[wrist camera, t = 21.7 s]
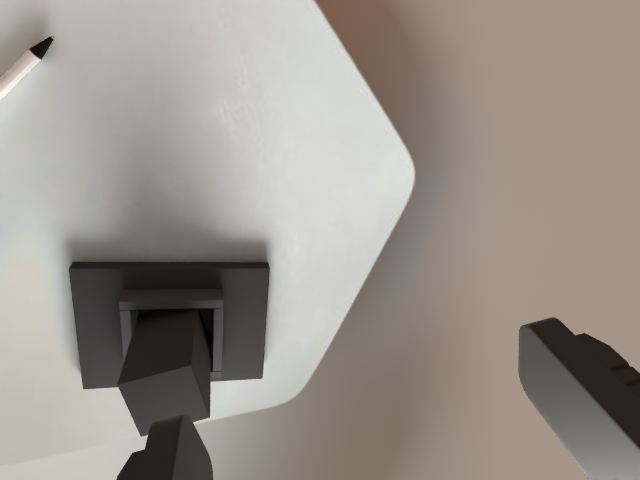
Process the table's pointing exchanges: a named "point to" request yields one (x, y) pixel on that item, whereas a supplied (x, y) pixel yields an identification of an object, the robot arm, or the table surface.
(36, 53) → the pen
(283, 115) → the table surface
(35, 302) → the table surface
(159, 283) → the base pad
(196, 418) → the pad block
